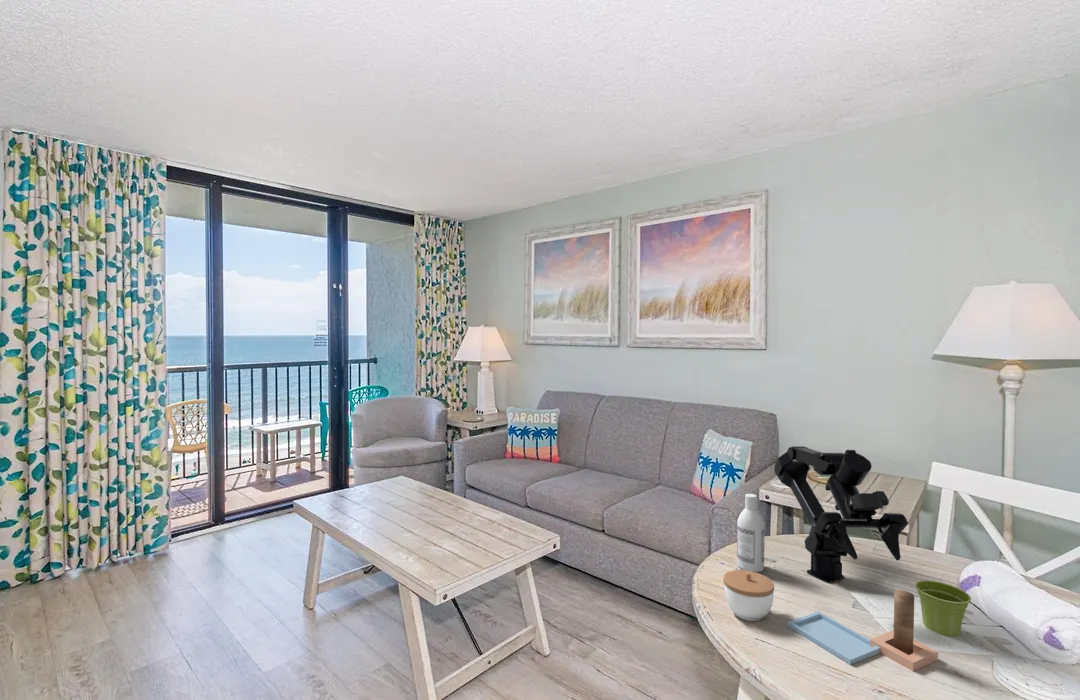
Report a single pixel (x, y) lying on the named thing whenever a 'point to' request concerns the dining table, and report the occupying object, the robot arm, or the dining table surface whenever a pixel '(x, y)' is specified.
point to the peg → (903, 621)
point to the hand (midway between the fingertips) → (877, 559)
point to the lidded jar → (748, 594)
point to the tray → (834, 637)
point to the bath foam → (750, 537)
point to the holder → (913, 661)
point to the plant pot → (942, 606)
